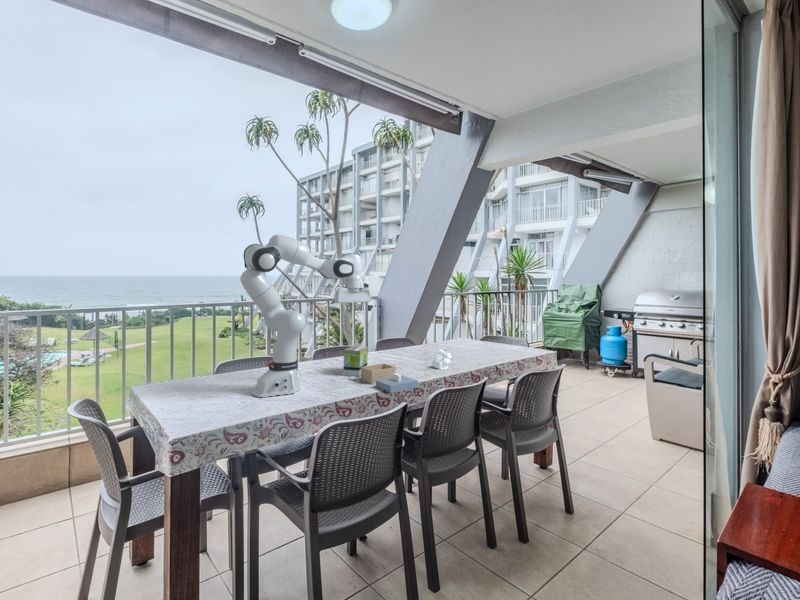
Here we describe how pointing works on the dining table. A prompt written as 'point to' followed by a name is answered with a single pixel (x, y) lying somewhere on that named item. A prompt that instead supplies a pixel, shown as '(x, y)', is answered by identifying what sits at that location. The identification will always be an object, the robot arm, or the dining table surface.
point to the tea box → (355, 360)
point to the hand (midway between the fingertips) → (353, 311)
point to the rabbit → (441, 360)
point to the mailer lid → (397, 383)
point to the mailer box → (377, 372)
